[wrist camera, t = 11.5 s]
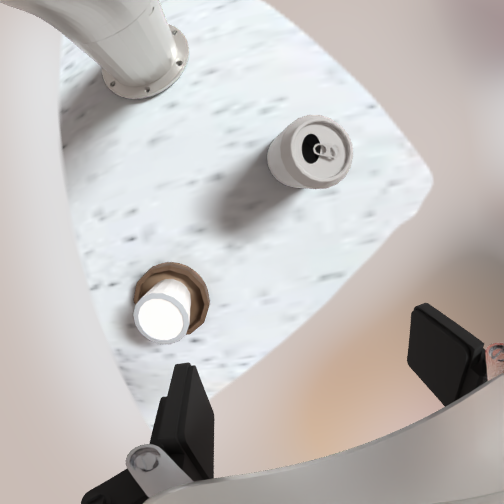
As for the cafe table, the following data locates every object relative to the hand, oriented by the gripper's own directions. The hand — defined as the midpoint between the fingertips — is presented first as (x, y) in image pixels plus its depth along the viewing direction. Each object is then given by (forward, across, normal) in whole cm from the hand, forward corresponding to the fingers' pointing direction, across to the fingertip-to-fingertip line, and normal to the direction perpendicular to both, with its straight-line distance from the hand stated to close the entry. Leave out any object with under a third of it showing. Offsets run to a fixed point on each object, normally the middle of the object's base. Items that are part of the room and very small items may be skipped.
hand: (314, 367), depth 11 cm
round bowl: (+28, +13, +6) cm, 31 cm away
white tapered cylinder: (+28, +13, +6) cm, 31 cm away
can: (+28, -7, -9) cm, 31 cm away
